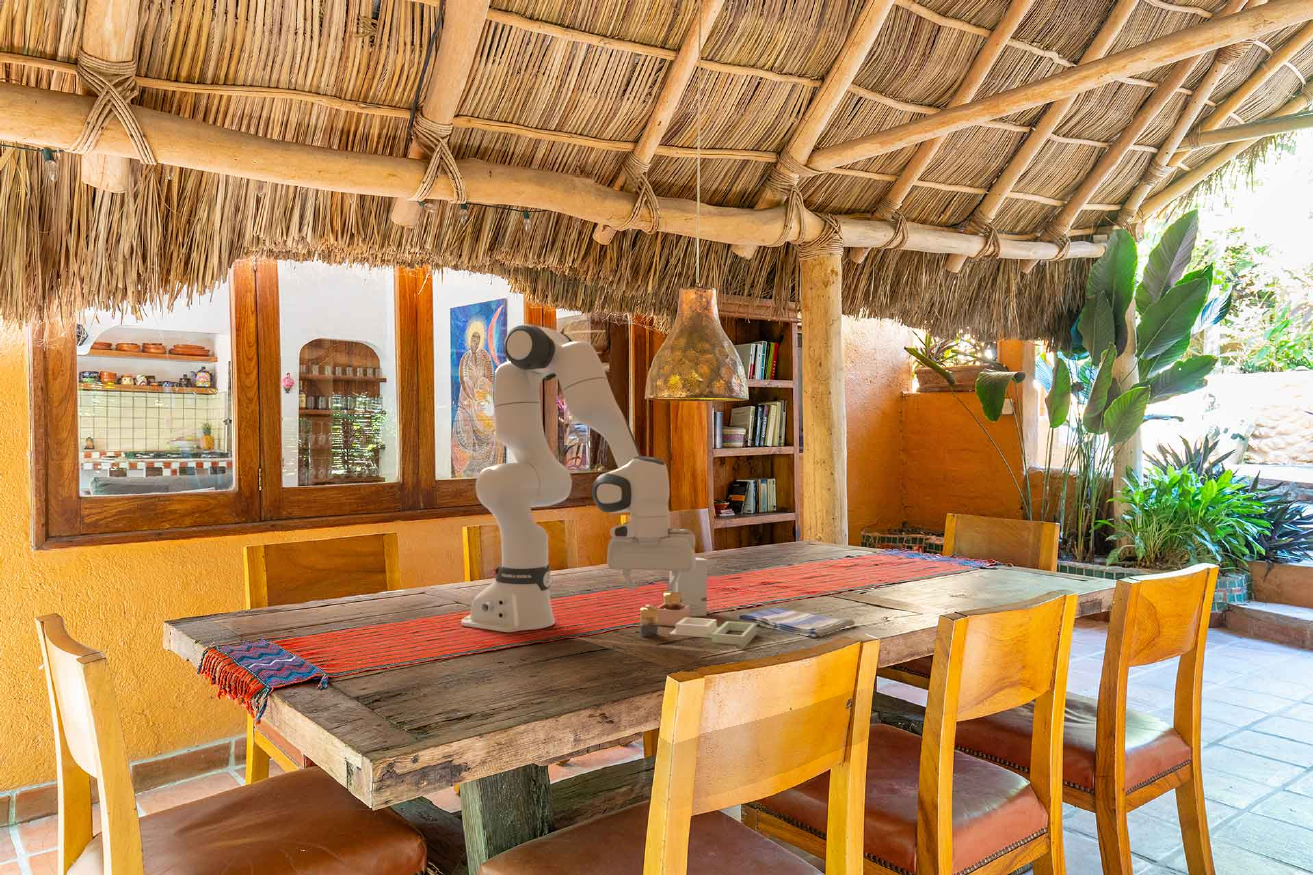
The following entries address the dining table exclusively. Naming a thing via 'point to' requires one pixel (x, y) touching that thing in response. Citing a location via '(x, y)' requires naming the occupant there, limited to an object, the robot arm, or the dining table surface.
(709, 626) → the cradle
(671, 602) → the cell
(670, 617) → the pink open box
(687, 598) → the skincare box
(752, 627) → the trough
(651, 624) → the cell
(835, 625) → the dish towel
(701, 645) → the dining table surface
